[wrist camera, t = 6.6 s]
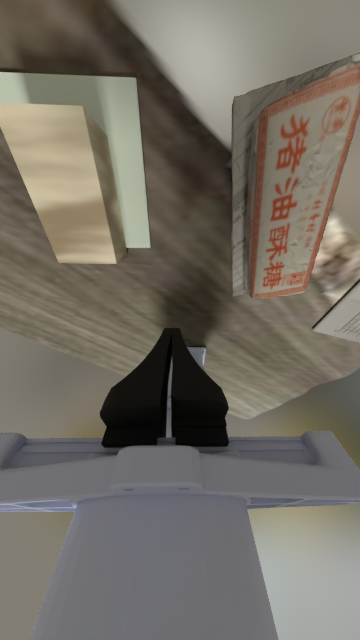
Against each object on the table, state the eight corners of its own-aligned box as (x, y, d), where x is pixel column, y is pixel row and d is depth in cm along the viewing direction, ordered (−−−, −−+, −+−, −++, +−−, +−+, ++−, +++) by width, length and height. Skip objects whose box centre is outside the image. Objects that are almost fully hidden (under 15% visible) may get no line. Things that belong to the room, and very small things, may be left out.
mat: (150, 247, 18) (150, 248, 18) (54, 245, 18) (52, 246, 18) (136, 80, 11) (135, 77, 11) (-18, 74, 11) (-22, 71, 11)
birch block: (116, 263, 15) (82, 105, 10) (58, 262, 15) (-11, 102, 9) (127, 256, 18) (107, 136, 13) (80, 255, 18) (39, 134, 13)
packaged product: (326, 294, 17) (241, 309, 18) (298, 281, 21) (230, 293, 22) (452, -23, 7) (252, 48, 8) (355, 64, 11) (228, 104, 12)
